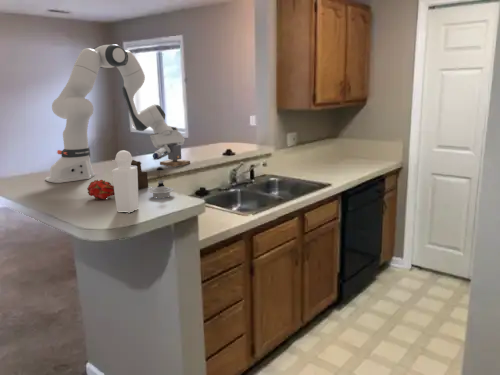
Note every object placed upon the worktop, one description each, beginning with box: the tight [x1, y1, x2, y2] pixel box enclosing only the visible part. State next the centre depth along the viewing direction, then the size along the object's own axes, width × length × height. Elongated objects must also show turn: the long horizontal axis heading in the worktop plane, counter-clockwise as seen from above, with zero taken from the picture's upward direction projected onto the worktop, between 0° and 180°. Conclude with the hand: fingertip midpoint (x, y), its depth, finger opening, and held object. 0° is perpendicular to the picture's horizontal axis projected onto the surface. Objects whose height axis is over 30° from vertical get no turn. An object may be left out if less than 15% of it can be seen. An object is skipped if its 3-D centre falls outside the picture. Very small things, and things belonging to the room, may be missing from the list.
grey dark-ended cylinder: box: [152, 148, 168, 159], centre depth 277 cm, size 5×7×25 cm
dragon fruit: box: [87, 179, 115, 200], centre depth 172 cm, size 8×8×12 cm
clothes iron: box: [131, 159, 149, 190], centre depth 192 cm, size 8×16×13 cm, turn 44°
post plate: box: [159, 158, 191, 168], centre depth 246 cm, size 12×12×10 cm
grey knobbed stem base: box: [148, 166, 175, 199], centre depth 174 cm, size 12×10×10 cm
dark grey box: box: [167, 144, 182, 160], centre depth 245 cm, size 5×6×8 cm
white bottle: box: [111, 149, 140, 212], centre depth 153 cm, size 6×6×22 cm
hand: (175, 151), depth 245 cm, fingers closed on dark grey box, 5 cm apart
